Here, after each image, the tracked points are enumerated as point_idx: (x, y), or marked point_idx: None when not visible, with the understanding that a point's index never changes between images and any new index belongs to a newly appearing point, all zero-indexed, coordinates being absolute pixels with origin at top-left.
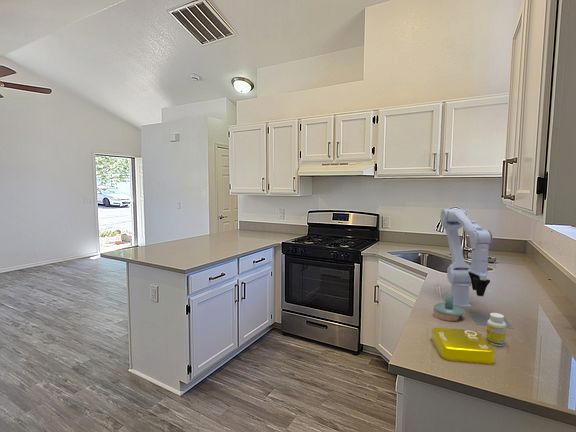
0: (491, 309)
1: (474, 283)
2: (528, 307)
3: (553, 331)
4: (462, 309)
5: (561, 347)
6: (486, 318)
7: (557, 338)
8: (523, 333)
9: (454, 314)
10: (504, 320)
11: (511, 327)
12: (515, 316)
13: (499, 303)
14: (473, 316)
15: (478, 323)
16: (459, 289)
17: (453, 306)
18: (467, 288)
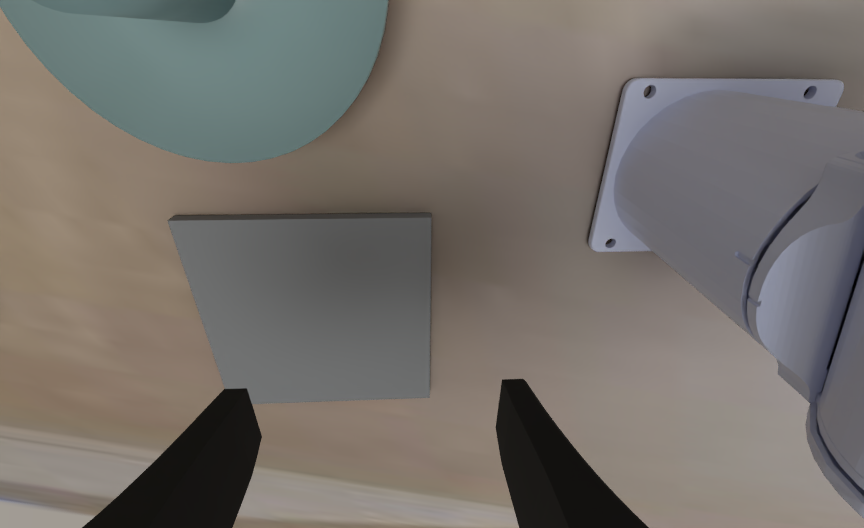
0: (568, 359)
1: (530, 483)
2: (626, 501)
3: (321, 515)
4: (233, 145)
5: None
6: (342, 305)
7: (239, 511)
8: None
9: (18, 15)
10: (354, 389)
11: None
12: (473, 439)
13: (686, 413)
14: (345, 227)
15: (196, 236)
16: (735, 216)
17: (292, 48)
18: (730, 315)
